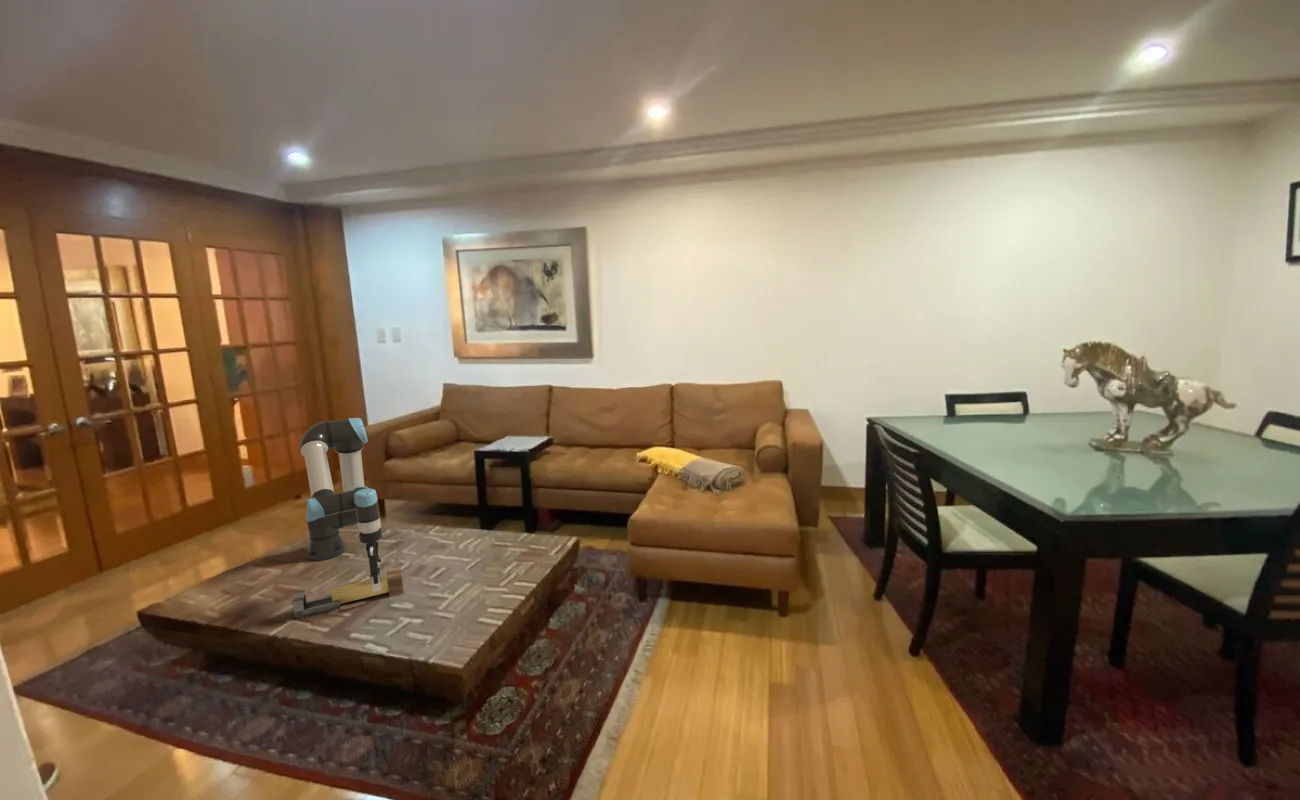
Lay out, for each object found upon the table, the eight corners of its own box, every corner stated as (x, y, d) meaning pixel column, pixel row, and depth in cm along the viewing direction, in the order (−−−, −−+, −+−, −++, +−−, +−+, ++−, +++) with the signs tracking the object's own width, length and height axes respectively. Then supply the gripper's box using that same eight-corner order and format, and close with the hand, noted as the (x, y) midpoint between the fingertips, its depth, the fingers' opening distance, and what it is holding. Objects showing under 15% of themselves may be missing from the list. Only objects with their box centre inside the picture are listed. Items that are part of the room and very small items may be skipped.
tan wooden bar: (334, 600, 198) (330, 578, 196) (398, 585, 208) (395, 564, 206) (333, 605, 194) (329, 583, 193) (398, 589, 204) (395, 568, 202)
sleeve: (298, 610, 194) (295, 592, 193) (341, 600, 200) (338, 582, 199) (295, 619, 189) (292, 600, 187) (340, 608, 195) (337, 590, 193)
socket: (389, 588, 208) (386, 569, 206) (403, 584, 210) (400, 566, 208) (389, 596, 201) (386, 577, 200) (403, 593, 204) (401, 574, 202)
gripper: (360, 521, 206) (367, 574, 210) (357, 543, 187) (365, 600, 191) (381, 517, 209) (388, 570, 213) (380, 538, 190) (388, 595, 194)
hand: (377, 584), depth 202 cm, fingers open, 9 cm apart
